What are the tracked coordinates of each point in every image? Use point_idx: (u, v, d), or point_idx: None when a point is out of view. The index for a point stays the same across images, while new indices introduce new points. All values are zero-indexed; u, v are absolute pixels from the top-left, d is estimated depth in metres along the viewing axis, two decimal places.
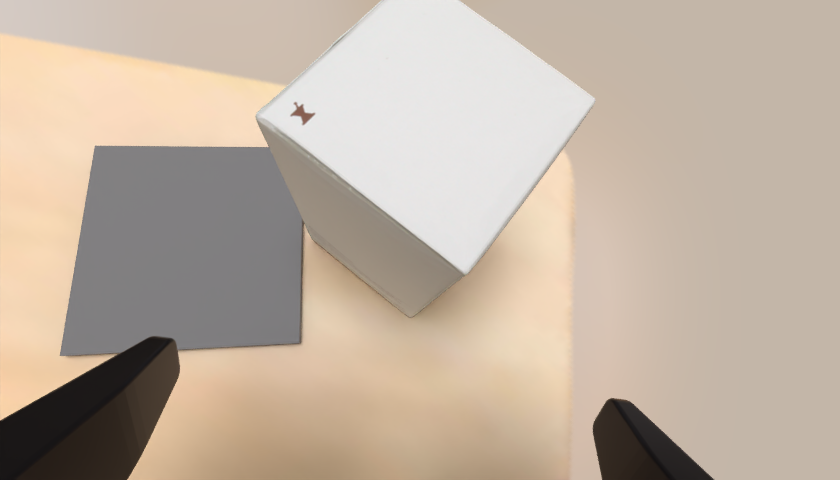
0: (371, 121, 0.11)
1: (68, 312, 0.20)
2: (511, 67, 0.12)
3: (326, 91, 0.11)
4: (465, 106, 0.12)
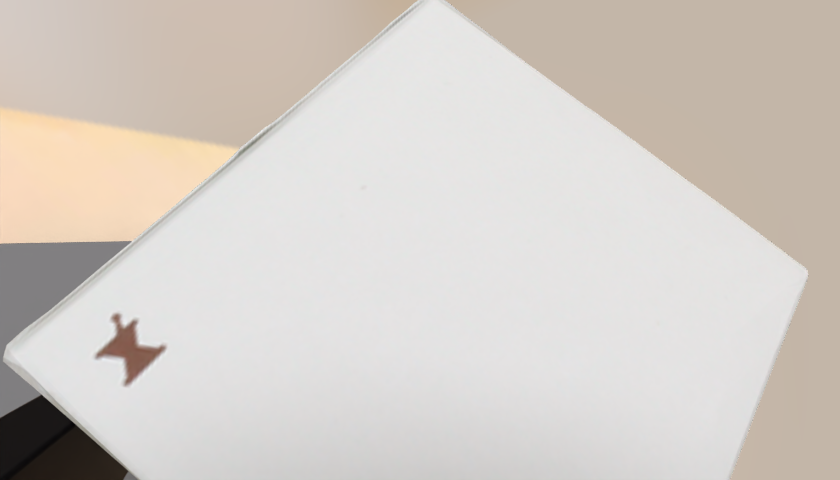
0: (313, 365, 0.04)
1: None
2: (635, 202, 0.06)
3: (203, 279, 0.04)
4: (546, 307, 0.05)
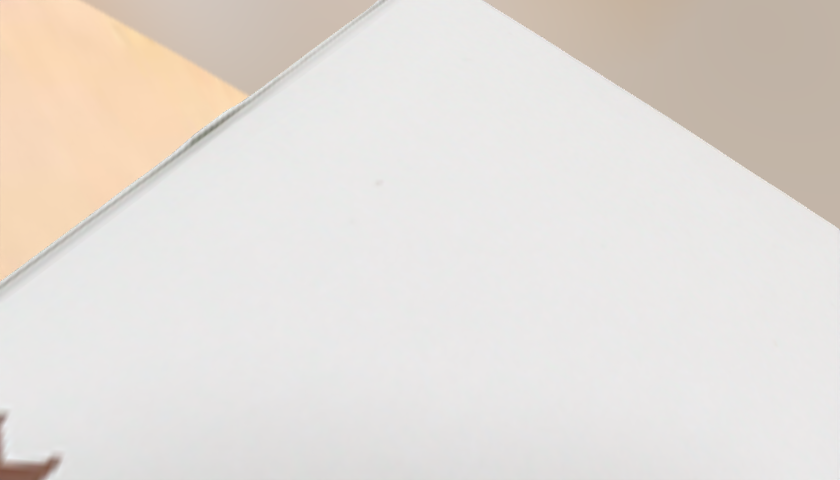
0: (331, 459, 0.03)
1: None
2: (706, 195, 0.05)
3: (134, 332, 0.03)
4: (643, 333, 0.04)
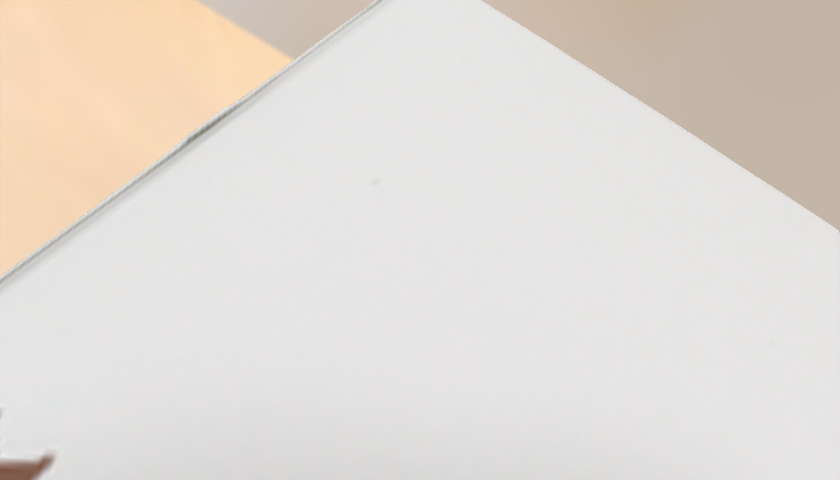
0: (325, 459, 0.03)
1: None
2: (703, 195, 0.05)
3: (128, 331, 0.03)
4: (640, 332, 0.04)
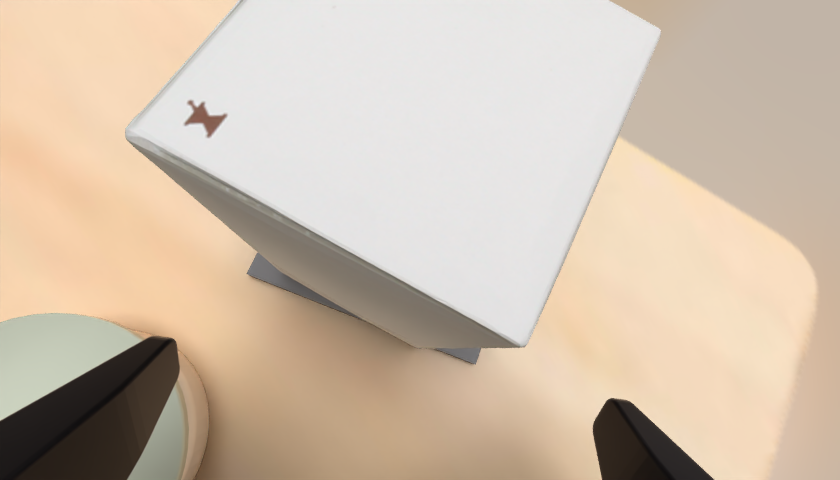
0: (323, 114, 0.07)
1: None
2: None
3: (240, 74, 0.07)
4: (472, 67, 0.07)
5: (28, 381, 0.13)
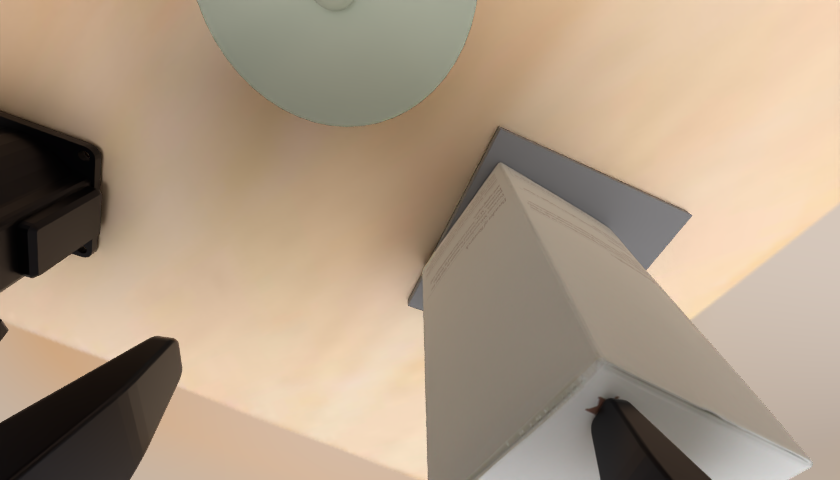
0: (589, 459, 0.10)
1: (538, 147, 0.19)
2: None
3: None
4: None
5: None
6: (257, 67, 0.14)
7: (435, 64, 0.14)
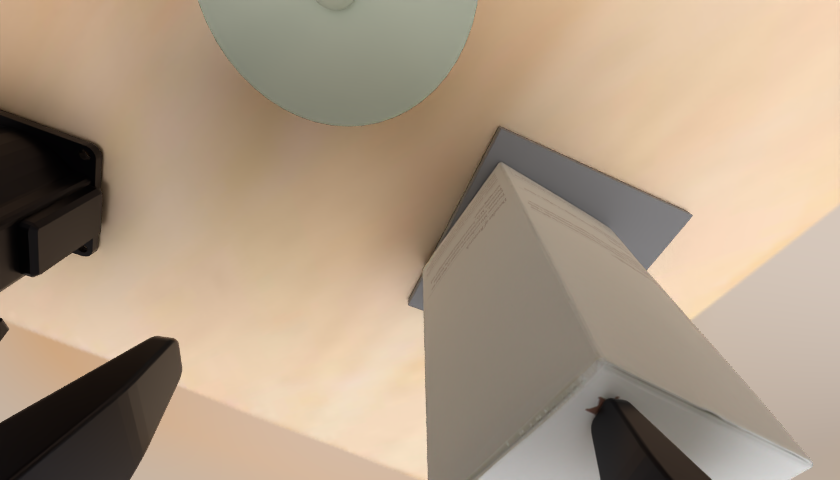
0: (589, 459, 0.10)
1: (539, 147, 0.19)
2: None
3: None
4: None
5: None
6: (258, 66, 0.14)
7: (436, 64, 0.14)
